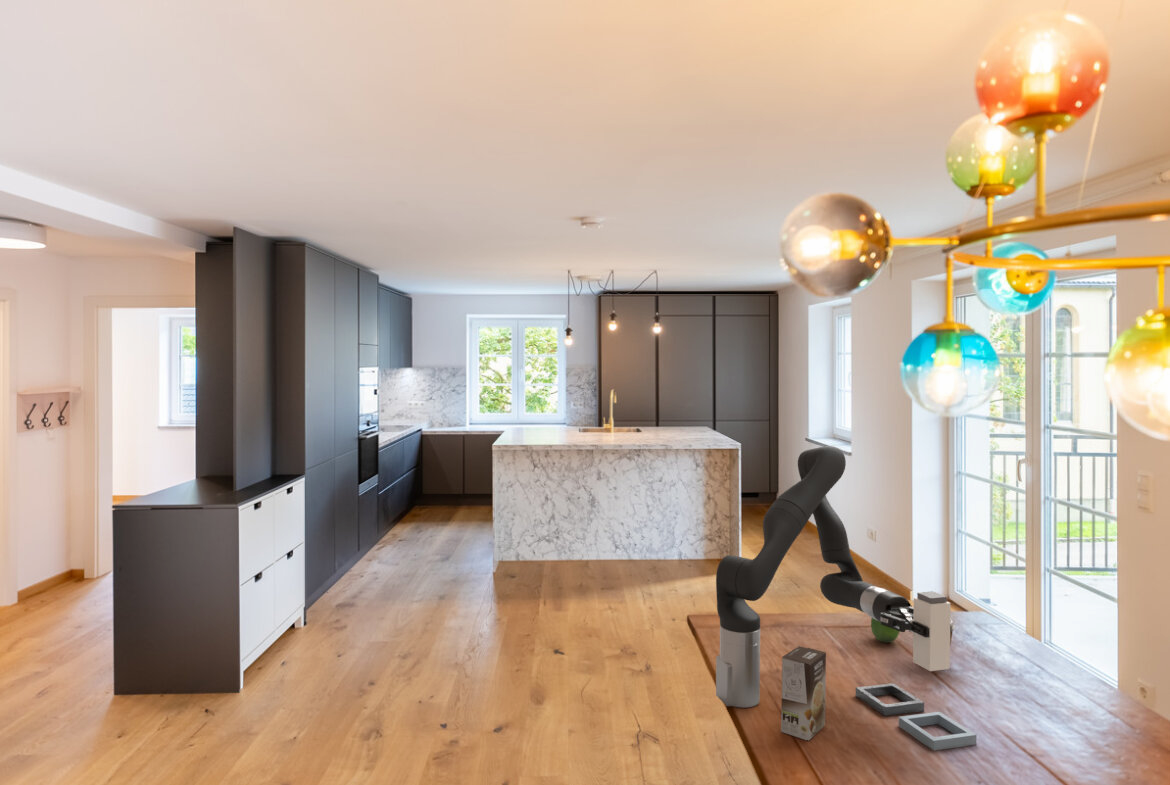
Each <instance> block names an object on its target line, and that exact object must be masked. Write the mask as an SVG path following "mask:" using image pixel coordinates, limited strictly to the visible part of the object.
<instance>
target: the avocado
mask: <svg viewBox="0 0 1170 785" xmlns="http://www.w3.org/2000/svg"><path fill="white" fill-rule="evenodd" d="M870 619H871V620H870V627H871V632H872V634H873V636H874V637H875V639H876V640H877V641H879V642H882V643H886V644H887V643H891V642H895V641H896V639H898V636H899V635H900V631H897V630H895V629H892V628H889V627H886V626H884V625H881V622H879V621H877V620H875V619H873V618H871V617H870Z"/></svg>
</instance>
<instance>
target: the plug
mask: <svg viewBox="0 0 1170 785" xmlns="http://www.w3.org/2000/svg"><path fill="white" fill-rule="evenodd" d="M916 595H917V597H913V607H914V617H913V620H914V621H915V622H918V623H921V624H923V625H925V626H927V627H929V637H926V638H925V637H923V636H921V635H919V634H917V633H915V632H913V633H912V663H914V664H916V665H918V666H920V667H921V668H923V669H925V670H927V671H928V672H934V671H942V670H950V669H951V668H950V665H951V645H950V619H951V610H952V609H951V608H952V607H951V604H952V603H951V602H949V601H948V596H945V595H943V594H940V593H939V592H936V591H933V590H932V591H922V592H917V593H916Z"/></svg>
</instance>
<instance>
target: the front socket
mask: <svg viewBox="0 0 1170 785" xmlns="http://www.w3.org/2000/svg"><path fill="white" fill-rule="evenodd" d="M932 725H939V726H941V727H943V728H945V729H946V730H947V731H949V732H951V733H952V734H947V735H946V734H945V735H941V736H933V735H932V734H930V733H929V732H928V731H926V730H924V729H923V728H922V727H925V726H932ZM898 727H899V728H901V730H903V731H905V732H906V733H908V735H911V736H912V737H914V739H917V740H918V741H919V742H921V743H922V744H923V745H925V746H926V747H928V748H929V749H931V750H932V751H941V750H947V749H954V748H955V749H956V748H961V747H967V746H975V745H977V734H976V733H974V732H973V731H971V730H970V729H968V728H967V727H965V726H963V725H962V724H960V723H958V722H956V721H955V720H954V719H952V718H950V717H949V716H947V715H946V714H944V713H942V712H941V711H934V712H927V713H926V712H925V713H918V714H911V715H903V716H898Z"/></svg>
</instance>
